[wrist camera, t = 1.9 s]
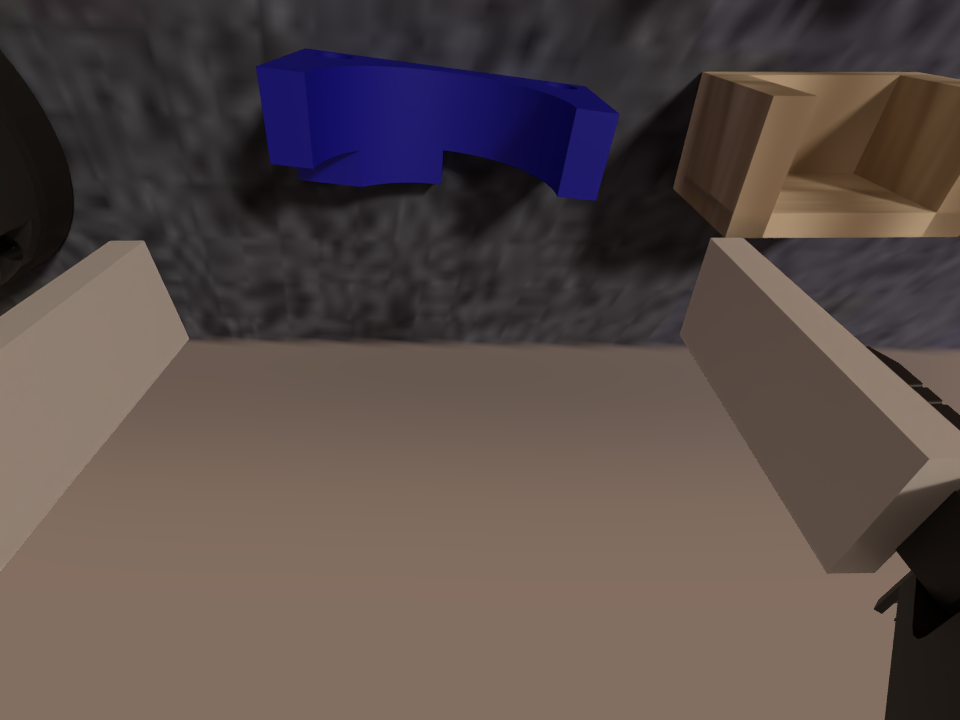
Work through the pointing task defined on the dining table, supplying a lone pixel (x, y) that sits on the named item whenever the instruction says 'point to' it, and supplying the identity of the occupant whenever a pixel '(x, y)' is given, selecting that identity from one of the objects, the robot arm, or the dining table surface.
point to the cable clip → (427, 122)
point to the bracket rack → (824, 154)
